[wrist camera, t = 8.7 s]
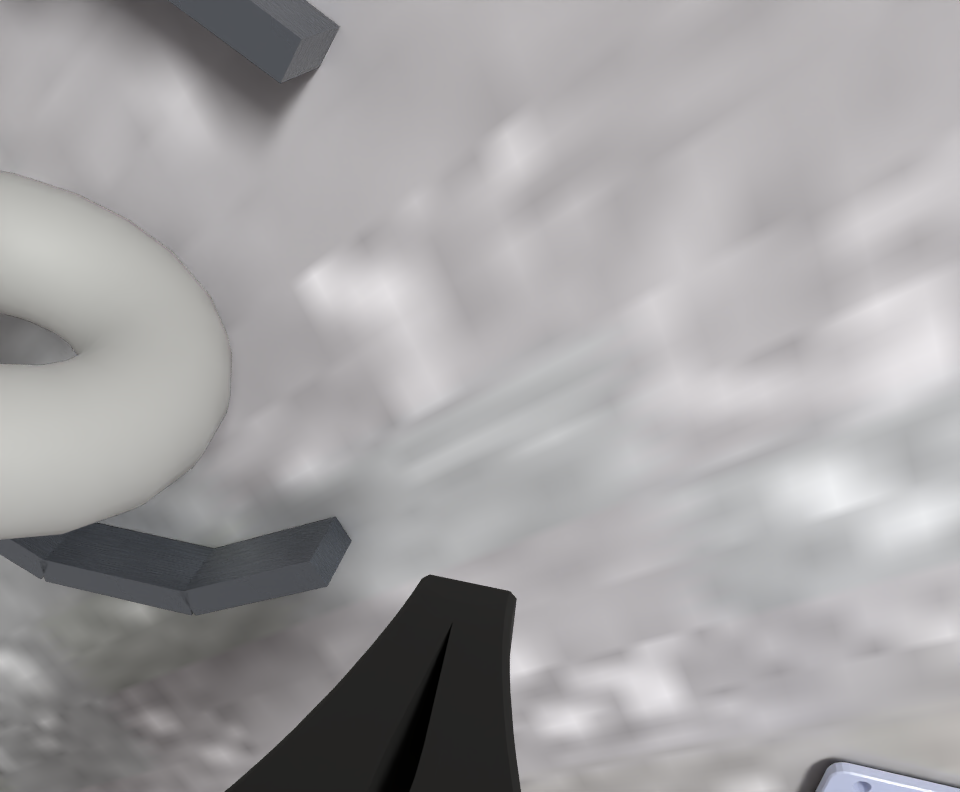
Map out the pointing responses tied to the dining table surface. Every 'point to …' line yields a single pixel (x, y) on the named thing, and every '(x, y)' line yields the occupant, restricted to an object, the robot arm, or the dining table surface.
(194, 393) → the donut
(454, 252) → the dining table surface
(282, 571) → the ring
